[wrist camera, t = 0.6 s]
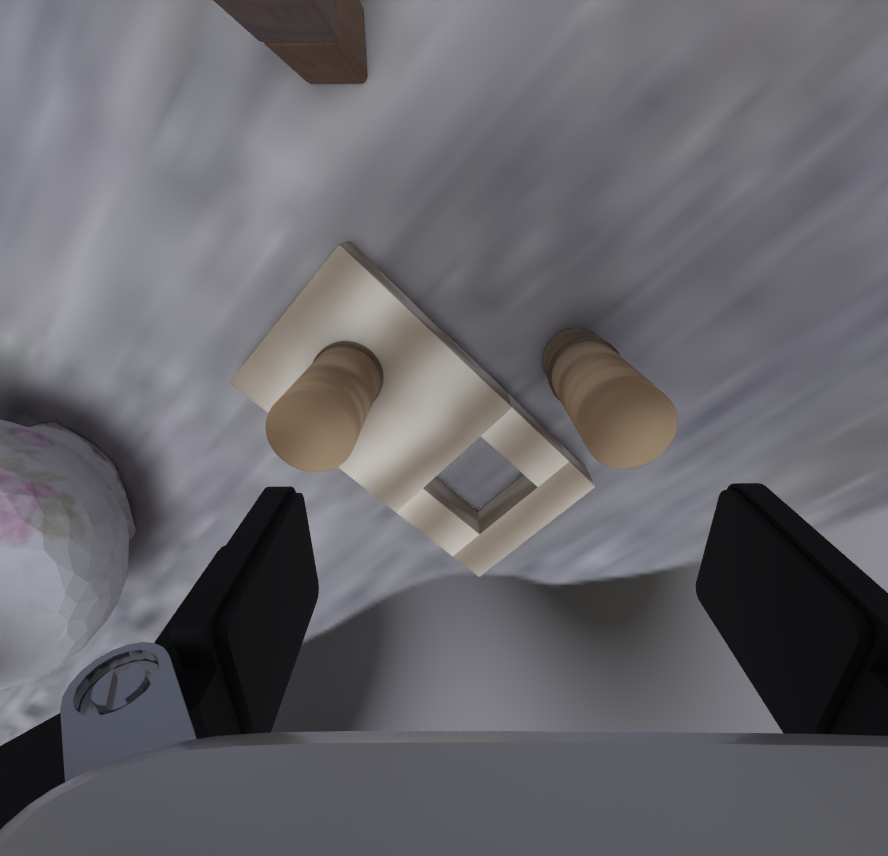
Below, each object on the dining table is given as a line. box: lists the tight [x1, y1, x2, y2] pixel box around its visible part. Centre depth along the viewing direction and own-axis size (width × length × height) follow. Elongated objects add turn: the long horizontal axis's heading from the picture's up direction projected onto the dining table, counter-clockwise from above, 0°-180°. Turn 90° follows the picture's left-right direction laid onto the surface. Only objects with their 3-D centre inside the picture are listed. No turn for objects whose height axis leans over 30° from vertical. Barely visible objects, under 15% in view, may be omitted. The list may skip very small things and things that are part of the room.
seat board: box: [229, 242, 596, 577], centre depth 30 cm, size 24×12×12 cm, turn 46°
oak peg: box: [542, 328, 678, 469], centre depth 28 cm, size 5×5×12 cm
